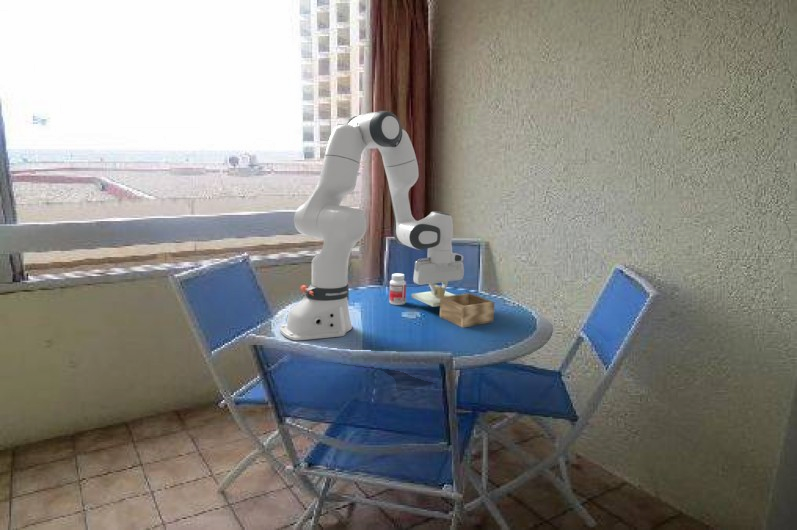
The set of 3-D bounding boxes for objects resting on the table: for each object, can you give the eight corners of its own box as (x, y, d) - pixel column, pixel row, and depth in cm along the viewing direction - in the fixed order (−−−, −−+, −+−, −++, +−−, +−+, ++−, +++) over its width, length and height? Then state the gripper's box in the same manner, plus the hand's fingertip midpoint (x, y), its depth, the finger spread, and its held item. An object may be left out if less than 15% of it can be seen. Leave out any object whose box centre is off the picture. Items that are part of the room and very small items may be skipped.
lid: (432, 306, 177) (433, 293, 176) (411, 297, 189) (411, 284, 188) (464, 301, 185) (465, 289, 184) (442, 292, 196) (442, 280, 195)
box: (462, 327, 166) (463, 306, 165) (439, 316, 177) (440, 297, 175) (493, 322, 173) (494, 302, 171) (469, 311, 183) (470, 293, 182)
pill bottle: (398, 300, 196) (399, 272, 194) (408, 303, 192) (409, 275, 190) (385, 302, 193) (386, 274, 190) (396, 306, 188) (396, 277, 186)
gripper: (420, 260, 176) (418, 299, 178) (467, 256, 186) (465, 292, 189) (410, 257, 181) (409, 295, 184) (456, 253, 191) (454, 288, 194)
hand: (438, 293), depth 186 cm, fingers closed on lid
